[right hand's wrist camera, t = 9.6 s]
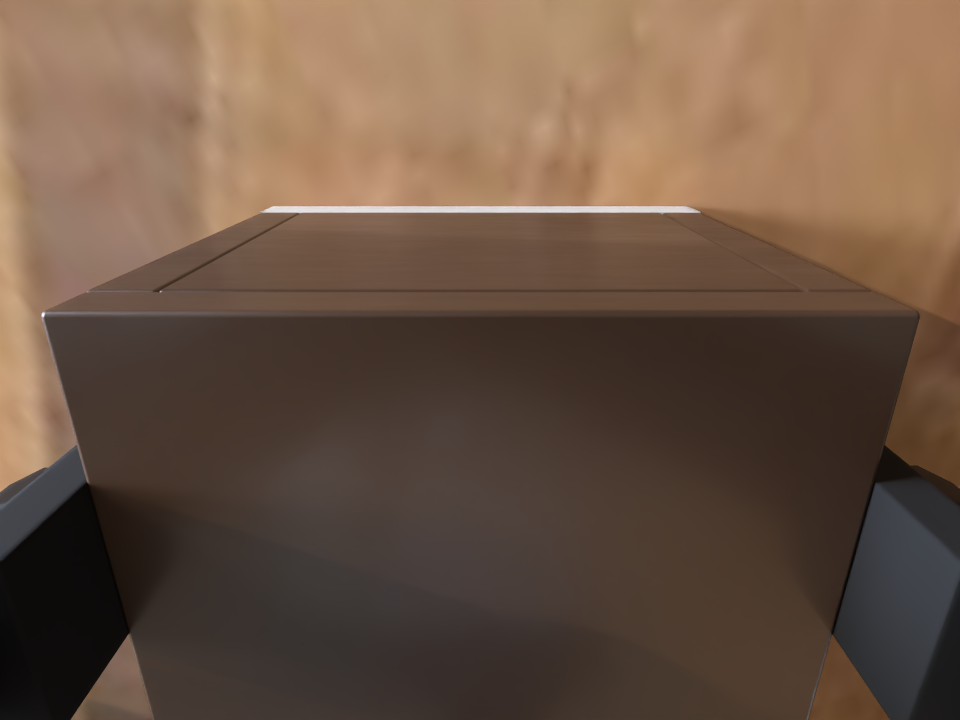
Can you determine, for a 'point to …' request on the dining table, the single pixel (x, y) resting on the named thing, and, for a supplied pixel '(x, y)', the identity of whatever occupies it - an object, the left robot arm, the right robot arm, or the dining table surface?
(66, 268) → the dining table surface
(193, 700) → the cabinet
